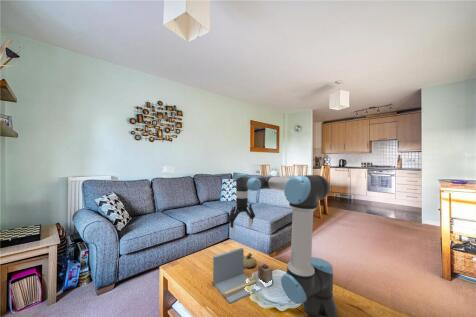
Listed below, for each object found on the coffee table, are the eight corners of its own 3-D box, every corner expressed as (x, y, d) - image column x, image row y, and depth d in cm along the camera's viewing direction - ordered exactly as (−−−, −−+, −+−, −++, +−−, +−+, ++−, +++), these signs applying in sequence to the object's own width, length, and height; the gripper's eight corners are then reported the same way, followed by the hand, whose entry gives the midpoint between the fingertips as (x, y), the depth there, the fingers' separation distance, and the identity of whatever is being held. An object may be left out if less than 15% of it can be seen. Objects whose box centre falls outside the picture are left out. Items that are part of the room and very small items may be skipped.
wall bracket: (261, 289, 108) (261, 260, 108) (229, 304, 97) (230, 271, 97) (240, 272, 125) (240, 247, 125) (212, 283, 114) (212, 255, 114)
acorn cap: (254, 271, 127) (259, 256, 133) (238, 263, 129) (244, 249, 135) (252, 274, 134) (256, 259, 141) (237, 267, 137) (243, 252, 143)
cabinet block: (272, 284, 112) (272, 267, 113) (266, 287, 110) (266, 269, 110) (264, 278, 118) (264, 261, 119) (257, 281, 116) (258, 264, 116)
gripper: (253, 194, 137) (253, 225, 136) (222, 198, 123) (222, 232, 123) (260, 196, 131) (260, 228, 130) (228, 200, 117) (228, 236, 116)
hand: (241, 230), depth 126 cm, fingers open, 13 cm apart
